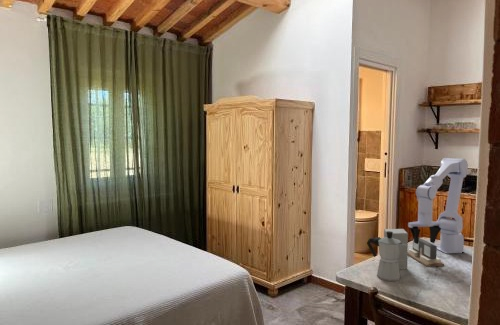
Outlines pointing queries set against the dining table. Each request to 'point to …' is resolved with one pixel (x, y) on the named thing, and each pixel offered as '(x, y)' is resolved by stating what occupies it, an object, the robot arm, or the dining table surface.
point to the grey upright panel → (425, 248)
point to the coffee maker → (387, 256)
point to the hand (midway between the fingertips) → (424, 242)
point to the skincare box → (403, 237)
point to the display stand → (424, 258)
